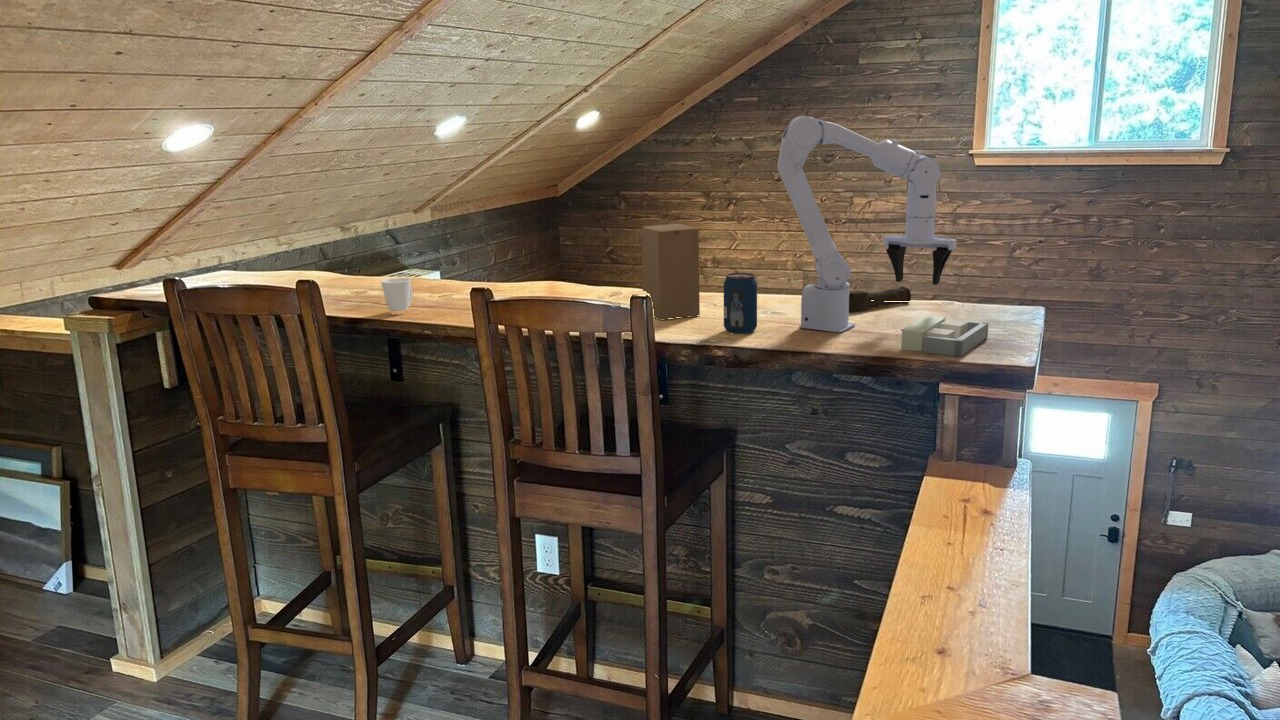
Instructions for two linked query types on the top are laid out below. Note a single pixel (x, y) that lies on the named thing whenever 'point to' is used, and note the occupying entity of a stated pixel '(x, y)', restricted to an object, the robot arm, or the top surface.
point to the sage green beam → (919, 332)
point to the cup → (397, 293)
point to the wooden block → (671, 269)
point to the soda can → (740, 303)
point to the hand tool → (877, 298)
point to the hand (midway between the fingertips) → (917, 282)
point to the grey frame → (957, 340)
